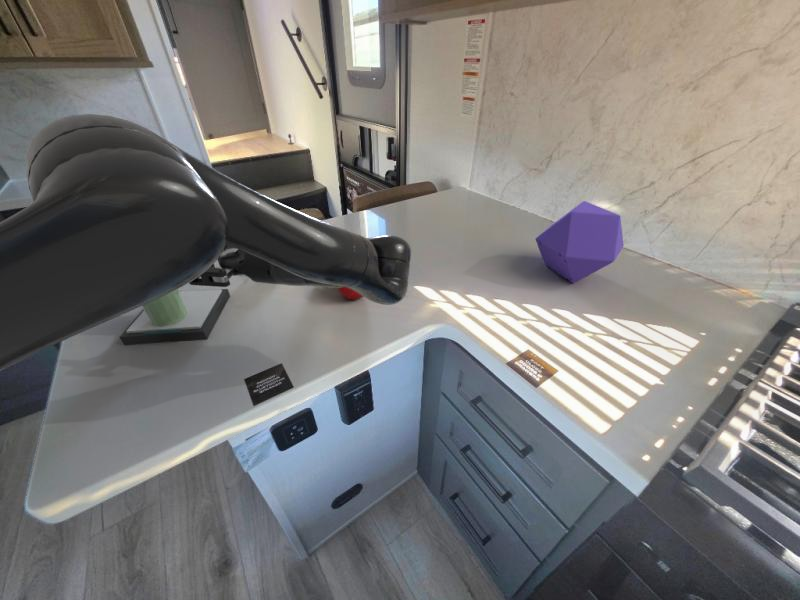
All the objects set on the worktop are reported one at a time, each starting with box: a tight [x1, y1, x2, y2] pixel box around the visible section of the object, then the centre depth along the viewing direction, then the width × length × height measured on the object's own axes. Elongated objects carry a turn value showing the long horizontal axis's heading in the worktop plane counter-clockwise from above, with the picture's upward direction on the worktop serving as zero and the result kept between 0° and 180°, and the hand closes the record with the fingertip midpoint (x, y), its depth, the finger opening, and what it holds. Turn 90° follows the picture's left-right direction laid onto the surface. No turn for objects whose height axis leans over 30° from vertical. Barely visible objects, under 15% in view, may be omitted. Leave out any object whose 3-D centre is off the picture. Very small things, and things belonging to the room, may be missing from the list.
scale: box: [119, 288, 231, 346], centre depth 71 cm, size 16×16×3 cm
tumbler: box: [141, 289, 187, 327], centre depth 65 cm, size 7×7×10 cm
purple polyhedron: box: [535, 200, 625, 285], centre depth 87 cm, size 22×20×20 cm
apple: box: [337, 287, 364, 300], centre depth 78 cm, size 8×8×10 cm
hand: (189, 252), depth 51 cm, fingers open, 8 cm apart
